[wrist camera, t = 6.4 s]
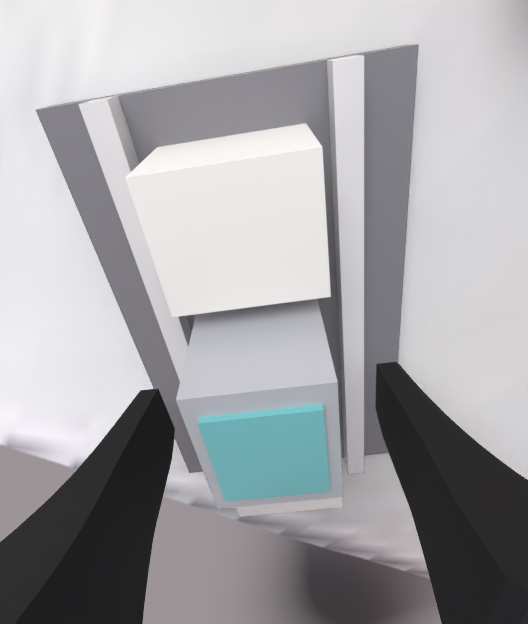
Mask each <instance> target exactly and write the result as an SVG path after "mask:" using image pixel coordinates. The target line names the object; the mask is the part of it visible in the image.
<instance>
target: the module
mask: <svg viewBox="0 0 528 624" xmlns="http://www.w3.org/2000/svg"><path fill="white" fill-rule="evenodd" d="M176 402H177V405H178V407H179V410H180V412H181V415H182V418H183V420H184V423H185V425H186V428H187V430H188V433H189V436H190V438H191V441H192V443H193V446H194V449H195V451H196V454H197V456H198V459H199V462H200V464H201V467H202V469H203V472H204V475H205V477H206V480H207V482H208V485H209V488H210V490H211V493H212V495H213V498H214V501H215V503H216V506H217V508H218V509H220V508H231V507H242V506H253V505H263V504H274V503H285V502H296V501H307V500H318V499H328V498H339V497H343V483H342V462H341V442H340V421H339V401H338V382H337V378H336V373H335V369H334V365H333V361H332V357H331V353H330V349H329V345H328V341H327V336H326V332H325V328H324V324H323V320H322V316H321V312H320V308H319V304H318V299H310V300H302V301H295V302H287V303H279V304H271V305H264V306H256V307H248V308H241V309H233V310H225V311H217V312H210V313H202V314H196V316H195V321H194V325H193V329H192V333H191V338H190V342H189V346H188V350H187V355H186V359H185V363H184V368H183V372H182V376H181V380H180V385H179V389H178V393H177V397H176Z"/></svg>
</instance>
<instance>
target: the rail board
mask: <svg viewBox="0 0 528 624" xmlns="http://www.w3.org/2000/svg"><path fill="white" fill-rule="evenodd" d="M417 60H418V45H404V46H399V47H393V48H387V49H381V50H375V51H369V52H363V53H358V54H352V55H346V56H340V57H334V58H328V59H323V60H317V61H311V62H305V63H299V64H293V65H288V66H282V67H276V68H270V69H264V70H258V71H253V72H247V73H241V74H235V75H229V76H223V77H217V78H212V79H206V80H200V81H194V82H188V83H182V84H177V85H171V86H165V87H159V88H153V89H147V90H142V91H136V92H130V93H124V94H118V95H112V96H107V97H101V98H95V99H89V100H83V101H77V102H71V103H66V104H60V105H54V106H49V107H45V108H41V109H38V110H36V112H37V114H38V116H39V119H40V121H41V124H42V126H43V128H44V131H45V133H46V135H47V138H48V140H49V142H50V145H51V147H52V149H53V152H54V154H55V157H56V159H57V161H58V164H59V166H60V168H61V171H62V173H63V175H64V178H65V180H66V182H67V185H68V187H69V190H70V192H71V194H72V197H73V199H74V201H75V204H76V206H77V208H78V211H79V213H80V215H81V218H82V220H83V223H84V225H85V227H86V230H87V232H88V234H89V237H90V239H91V241H92V244H93V246H94V249H95V251H96V253H97V256H98V258H99V260H100V263H101V265H102V267H103V270H104V272H105V274H106V277H107V279H108V282H109V284H110V286H111V289H112V291H113V293H114V296H115V298H116V300H117V303H118V305H119V307H120V310H121V312H122V315H123V317H124V319H125V322H126V324H127V326H128V329H129V331H130V333H131V336H132V338H133V340H134V343H135V345H136V348H137V350H138V352H139V355H140V357H141V359H142V362H143V364H144V366H145V369H146V371H147V373H148V376H149V378H150V381H151V383H152V385H153V388H154V389H159V391H160V394H161V396H162V399H163V401H164V404H165V406H166V408H167V411H168V413H169V416H170V418H171V420H172V423H173V425H174V428H175V434H174V437H175V440H176V442H177V444H178V447H179V449H180V451H181V454H182V456H183V458H184V461H185V463H186V465H187V468H188V470H189V473H193V472H203V469H202V467H201V464H200V462H199V459H198V456H197V454H196V451H195V449H194V446H193V443H192V441H191V438H190V436H189V433H188V430H187V428H186V425H185V423H184V420H183V418H182V415H181V412H180V410H179V407H178V405H177V402H176V397H177V393H178V389H179V385H180V380H181V376H182V372H183V368H184V363H185V359H186V355H187V350H188V346H189V342H190V338H191V333H192V329H193V325H194V321H195V316H196V314H202V313H210V312H217V311H225V310H233V309H241V308H248V307H256V306H264V305H271V304H279V303H287V302H295V301H302V300H310V299H318V304H319V308H320V312H321V316H322V320H323V324H324V328H325V332H326V336H327V341H328V345H329V349H330V353H331V357H332V361H333V365H334V369H335V373H336V378H337V382H338V401H339V421H340V442H341V458H342V457H345V461H346V466H347V471H348V474H355V473H364V455H372V454H382V453H389V452H388V449H387V447H386V444H385V441H384V439H383V435H382V432H381V428H380V424H379V420H378V416H377V412H376V408H375V403H376V364H379V363H388V362H397V363H398V351H399V336H400V321H401V305H402V290H403V275H404V259H405V244H406V229H407V213H408V198H409V183H410V167H411V152H412V137H413V121H414V106H415V91H416V76H417ZM340 507H343V505H342V497H339V498H328V499H318V500H307V501H296V502H285V503H274V504H263V505H253V506H242V507H237V510H238V513H239V516H240V517H242V516H253V515H264V514H274V513H285V512H296V511H307V510H318V509H329V508H340Z"/></svg>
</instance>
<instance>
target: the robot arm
mask: <svg viewBox="0 0 528 624" xmlns="http://www.w3.org/2000/svg"><path fill="white" fill-rule="evenodd" d="M375 408H376V412H377V416H378V420H379V424H380V428H381V432H382V435H383V439H384V441H385V444H386V447H387V449H388V452H389V455H390V457H391V460H392V462H393V465H394V468H395V470H396V473H397V475H398V478H399V480H400V483H401V486H402V488H403V491H404V493H405V496H406V499H407V501H408V504H409V507H410V510H411V513H412V516H413V519H414V522H415V526H416V529H417V533H418V536H419V540H420V543H421V547H422V550H423V554H424V558H425V561H426V565H427V569H428V572H429V576H430V580H431V583H432V587H433V591H434V595H435V598H436V603H437V607H438V610H439V614H440V618H441V622H442V624H528V480H527V479H525V478H524V477H522V476H521V475H519V474H518V473H516V472H515V471H514V470H512V469H511V468H510V467H508V466H507V465H506V464H504V463H503V462H502V461H500V460H499V459H497V458H496V457H495V456H494V455H492V454H491V453H490V452H489V451H487V450H486V449H485V448H483V447H482V446H481V445H480V444H479V443H477V442H476V441H475V440H474V439H473V438H471V437H470V436H469V435H468V434H467V433H466V432H465V431H463V430H462V429H461V428H460V427H459V426H458V425H457V424H456V423H455V422H453V421H452V420H451V419H450V418H449V417H448V416H447V415H446V414H445V413H444V412H443V411H442V410H441V409H440V408H439V407H438V406H437V405H436V404H435V403H434V402H433V401H432V400H431V399H430V398H429V397H428V396H427V395H426V394H425V393H424V392H423V391H422V390H421V389H420V387H419V386H418V385H417V384H416V383H415V382H414V381H413V380H412V379H411V378H410V376H409V375H408V374H407V373H406V372H405V371H404V369H403V368H402V367H401V366H400V365H399V364H398V363H397V362H388V363H379V364H376V403H375ZM174 434H175V428H174V425H173V423H172V420H171V418H170V416H169V413H168V411H167V408H166V406H165V404H164V401H163V399H162V396H161V394H160V391H159V389H150V390H141V391H140V392H139V393H138V395H137V396H136V397H135V399H134V400H133V401H132V402H131V404H130V405H129V406H128V408H127V409H126V410H125V412H124V413H123V414H122V416H121V417H120V418H119V419H118V421H117V422H116V423H115V425H114V426H113V427H112V428H111V430H110V431H109V432H108V434H107V435H106V436H105V437H104V439H103V440H102V441H101V442H100V444H99V445H98V446H97V447H96V448H95V450H94V451H93V452H92V453H91V454H90V455H89V457H88V458H87V459H86V460H85V461H84V462H83V464H82V465H81V466H80V467H79V468H78V469H77V471H76V472H75V473H74V474H73V475H72V476H71V477H70V478H69V479H68V480H67V481H66V482H65V483H64V484H63V485H62V486H61V487H60V488H59V489H58V490H57V491H56V492H55V494H53V495H52V496H51V498H49V499H48V500H47V501H46V502H45V503H44V504H43V505H42V506H41V507H40V508H39V509H38V510H36V512H35V513H33V514H32V515H31V516H30V517H29V518H28V519H27V520H26V521H24V522H23V523H22V524H21V525H20V526H19V527H18V528H17V529H15V530H14V531H13V532H12V533H11V534H10V535H8V536H7V537H6V538H5V539H4V540H2V541H1V542H0V624H142V621H143V610H144V601H145V593H146V586H147V577H148V569H149V563H150V555H151V549H152V542H153V537H154V532H155V527H156V522H157V517H158V514H159V510H160V505H161V501H162V498H163V493H164V489H165V485H166V481H167V477H168V473H169V468H170V464H171V459H172V452H173V444H174Z"/></svg>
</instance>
